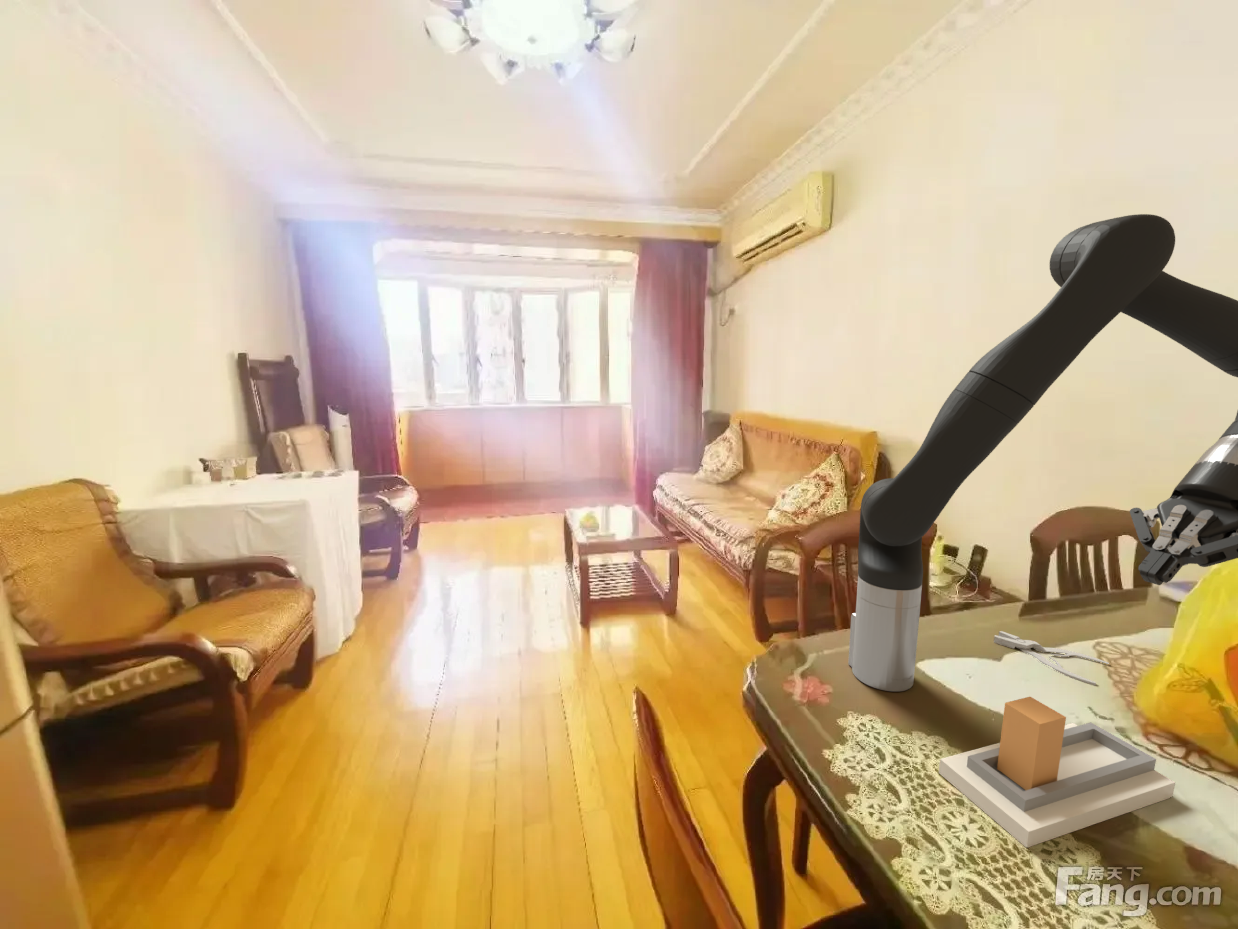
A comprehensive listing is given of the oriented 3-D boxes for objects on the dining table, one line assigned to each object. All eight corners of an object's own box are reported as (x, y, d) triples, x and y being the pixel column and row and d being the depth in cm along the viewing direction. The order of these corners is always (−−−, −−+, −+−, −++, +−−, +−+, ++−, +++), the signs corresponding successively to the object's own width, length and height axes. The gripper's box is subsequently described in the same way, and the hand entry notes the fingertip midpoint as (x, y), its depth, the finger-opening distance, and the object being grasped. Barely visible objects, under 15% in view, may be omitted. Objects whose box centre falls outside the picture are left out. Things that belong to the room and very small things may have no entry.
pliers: (1095, 679, 83) (986, 641, 94) (1094, 688, 83) (985, 649, 95) (1110, 657, 88) (1006, 625, 100) (1109, 666, 89) (1005, 632, 101)
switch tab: (997, 768, 63) (1005, 702, 62) (1021, 761, 64) (1030, 696, 63) (1030, 793, 60) (1039, 724, 58) (1056, 785, 61) (1066, 717, 59)
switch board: (938, 772, 66) (941, 748, 65) (1070, 735, 72) (1074, 713, 71) (1026, 847, 55) (1030, 819, 55) (1172, 796, 61) (1177, 771, 61)
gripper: (1157, 451, 72) (1079, 545, 71) (1302, 468, 59) (1209, 582, 58) (1176, 486, 74) (1101, 577, 73) (1320, 509, 61) (1231, 620, 60)
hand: (1149, 579), depth 66 cm, fingers closed
